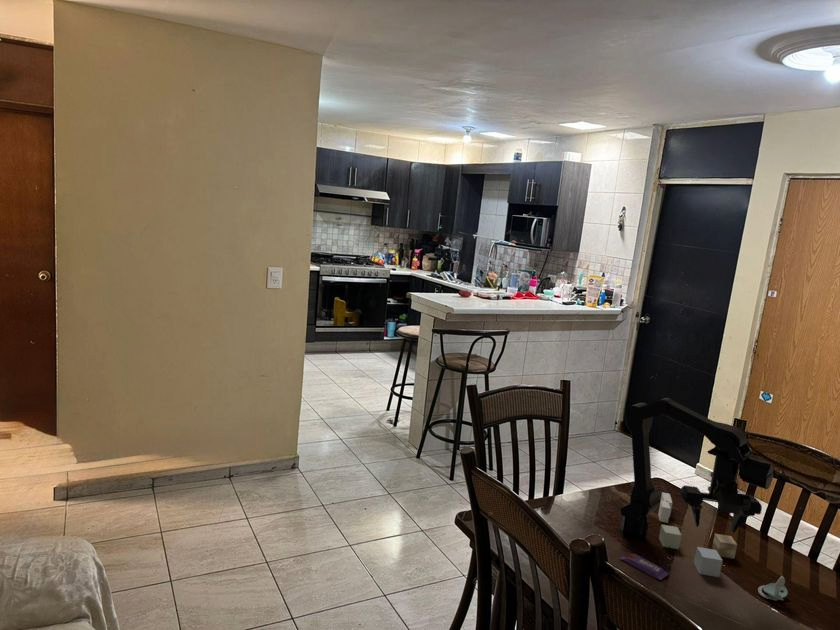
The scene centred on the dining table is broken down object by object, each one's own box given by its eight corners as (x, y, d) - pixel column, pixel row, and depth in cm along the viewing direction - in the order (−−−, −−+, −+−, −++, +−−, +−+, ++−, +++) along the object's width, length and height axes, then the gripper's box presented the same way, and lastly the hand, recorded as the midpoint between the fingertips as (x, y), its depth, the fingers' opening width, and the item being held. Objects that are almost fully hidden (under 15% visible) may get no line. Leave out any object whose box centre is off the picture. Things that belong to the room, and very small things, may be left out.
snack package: (670, 570, 152) (661, 576, 148) (668, 577, 152) (660, 583, 149) (629, 549, 160) (620, 555, 157) (628, 555, 160) (619, 561, 157)
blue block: (699, 573, 154) (702, 556, 153) (693, 563, 159) (696, 546, 158) (719, 577, 153) (722, 560, 153) (712, 566, 158) (716, 550, 158)
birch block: (717, 556, 164) (720, 541, 163) (712, 547, 168) (714, 533, 168) (734, 559, 163) (737, 544, 163) (728, 550, 168) (731, 536, 167)
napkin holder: (659, 503, 195) (661, 487, 194) (690, 518, 186) (694, 502, 185) (632, 512, 186) (635, 496, 185) (664, 529, 177) (667, 512, 176)
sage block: (662, 546, 166) (665, 532, 165) (658, 538, 170) (661, 524, 170) (678, 549, 165) (681, 535, 165) (674, 541, 170) (677, 527, 169)
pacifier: (753, 595, 147) (780, 607, 143) (757, 573, 146) (784, 584, 142) (762, 584, 152) (788, 596, 148) (766, 563, 151) (792, 573, 147)
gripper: (697, 482, 145) (687, 538, 148) (776, 493, 143) (764, 551, 145) (684, 464, 156) (675, 517, 159) (757, 474, 154) (746, 528, 156)
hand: (714, 529), depth 154 cm, fingers open, 9 cm apart
